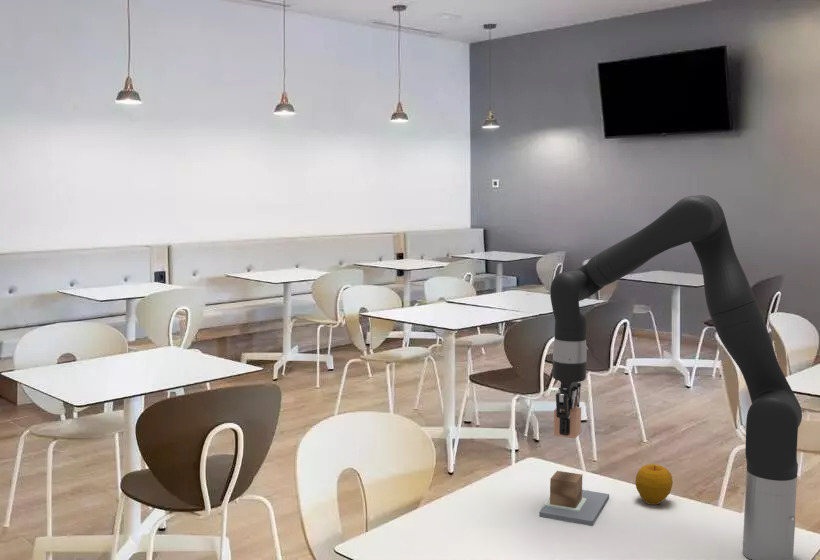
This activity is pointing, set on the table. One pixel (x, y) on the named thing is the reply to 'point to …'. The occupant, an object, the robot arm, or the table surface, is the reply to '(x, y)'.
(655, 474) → the apple
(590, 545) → the table surface
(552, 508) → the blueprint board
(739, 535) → the table surface
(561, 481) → the walnut block
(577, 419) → the terracotta block
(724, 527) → the table surface
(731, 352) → the robot arm
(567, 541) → the table surface
